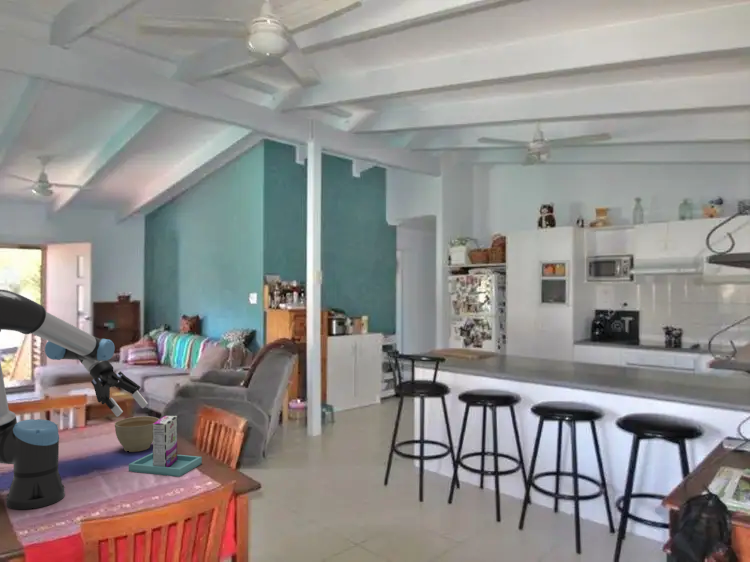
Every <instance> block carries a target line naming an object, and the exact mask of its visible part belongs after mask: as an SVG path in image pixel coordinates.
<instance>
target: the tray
mask: <svg viewBox="0 0 750 562" xmlns="http://www.w3.org/2000/svg"><path fill="white" fill-rule="evenodd" d="M202 458H203V457H202V456H196V455H187V454H185V455H184V454H177V461H176V462H174V463H173V464H172V465H171V466H170V467H162V466H153V452H151V453H148V454H147V455H145V456H143V457H141V458H139V459H137V460H134V461H132V462H130V463H128V472H130V471H132V472H133V473H142V474H150V475H159V476H167V475H168V476H167V477H179V478H180V477H182V476H183V475H185V474H187V473H188V472H190V471H192V470H193V468H194V469H195V468H197V467H199V466H201V465H202V462H203V459H202Z"/></svg>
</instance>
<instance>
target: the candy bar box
mask: <svg viewBox="0 0 750 562" xmlns="http://www.w3.org/2000/svg"><path fill="white" fill-rule="evenodd" d="M158 419H159V420H158V421H156V422H155V423H153V442H152V453H153V466H162V467H170V466H171V465H172V464H173V463H174V462H176V461H177V455H178V416H177V415H164V416H163V417H161V418H158Z"/></svg>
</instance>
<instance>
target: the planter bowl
mask: <svg viewBox="0 0 750 562" xmlns="http://www.w3.org/2000/svg"><path fill="white" fill-rule="evenodd" d="M159 419H160V418H158V417H155V416H134V417H128V418H123V419H120V420H118V421H116V422H114V428H115V435H116V438H117V440H118V442H119V444H120V445H121V447H123V450H124V451H125V452H127V451H129V452H130V453H137V452H142V451H146V450H149V449H150V448H151V444H153V423H155V422H156V421H158V420H159Z"/></svg>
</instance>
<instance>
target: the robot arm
mask: <svg viewBox="0 0 750 562" xmlns="http://www.w3.org/2000/svg"><path fill="white" fill-rule="evenodd" d="M2 330H4V331H5V330H6V331H13V332H14V331H15V332H17V333H18V332H19V333H21V334H22V335H31V334H32V335H34V336H36V337H39V338H41V339H43V340H46V341H47V342H46V343H45V346H44V353H45V356H46V357H47V358H48V359H49V360H55V361H56V360H57V361H61V360H75V361H77V360H78V361H79V362H80V363H81V364H82V365H83V367H84V368H85V370H86V371H87V372H88V373H89V375H90V376H91V378H93V379H92V380H91V384H92V386H93V389H94V392H95V397H96V400H97V403H101V405H106V406H107V407H108V408H109V409H110V410H111V412H112V413H113V414H114V416H115V417H117V418H118V417H119V416H120V415H122V413H123V412H124V411H123V410H122V408H121V407H120V406H119V405H118V403H117V401H116V400H115V399H114V398H113V397H111V395H110V394H111V393H110V392H111V391H110V388H112V387H113V388H114V387H116V388H120V389H122V390H123V391H126V392H128V393H130V394H132V395H131V397H132V398H133V399H134V400H135V402H136V403H137V404H138V405H139V407H140V408H141V409H144V408H146V406H147V405H148V404H149V402H148V401H147V400H146V399H145V398H144V397H143V395H142V394H141V392H140V391H139V390H140V389H141V386H140V385H139V384H138V383H136V382H135V381H133V380H132V379H131V378H129V377H128V376H126V375H125V374H124V373H123V372H122V371H119V372H118V373H116V372H114V366H113V365H112V363H111V362H110V361H109V360H111V359H112V358H113V356H114V353H115V349H116V347H115V344H114V342H113V341H112V340H111V339H108V338H107V339H106V338H99V337H96V336H94V335H92V334H90V333H88V332H86V331H85V330H82V329H80V328H79V327H77V326H74V325H73V324H71V323H69V322H67V321H65V320H63V319H61V318H60V317H58V316H55V315H53V314H51V313H50V312H48V311H47V310H46V307H44V306H43V305H41V304H40V303H38V302H36V301H34V300H32V299H29V298H28V297H25V296H23V295H20V294H19V293H16V292H14V291H9V290H6V289H0V333H1V332H2ZM59 445H60V434H59V427H58V424H56V423H55V422H54V421H52V420H48V419H39V418H37V419H32V418H31V419H25V420H24V419H23V420H21V421H17V415H16V413H15V412H14V411H11V410H10V409H9V403H8V399H7V392H6V387H5V382H4V375H3V370H2V363H1V361H0V464H4V465H13V478H12V481H11V484H10V487H9V490H8V493H7V494H6V495H7V496H6V501H5V502H6V507H7V508H10V509H13V510H32V508H33V509H38V508H42V507H48V506H50V505H52V504H55V503H57V502H59V501H61V500H62V499H63V498H64V497H65V492H66V491H65V486H64V484H63V482H62V477H61V475H60V472H59V447H60V446H59Z"/></svg>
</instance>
